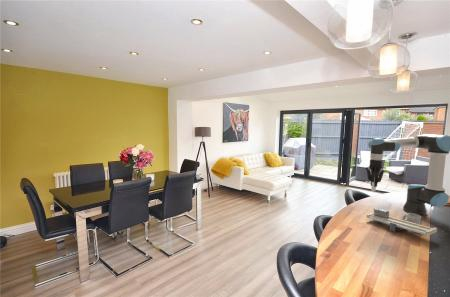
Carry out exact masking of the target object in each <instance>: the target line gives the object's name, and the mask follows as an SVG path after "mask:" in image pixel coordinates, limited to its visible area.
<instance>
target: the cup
mask: <svg viewBox="0 0 450 297" xmlns="http://www.w3.org/2000/svg"><path fill="white" fill-rule="evenodd" d="M406 217H407V218H406ZM401 219H405V220H407V221H408V222H412V223H415V224H419V225H421V221H422V215H417V214H413V213H409V212H407V214H403V215H402V218H401Z"/></svg>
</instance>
